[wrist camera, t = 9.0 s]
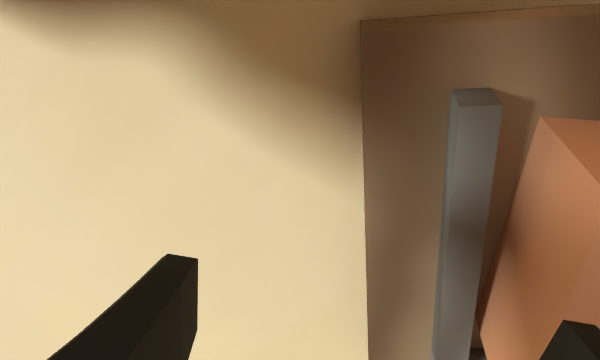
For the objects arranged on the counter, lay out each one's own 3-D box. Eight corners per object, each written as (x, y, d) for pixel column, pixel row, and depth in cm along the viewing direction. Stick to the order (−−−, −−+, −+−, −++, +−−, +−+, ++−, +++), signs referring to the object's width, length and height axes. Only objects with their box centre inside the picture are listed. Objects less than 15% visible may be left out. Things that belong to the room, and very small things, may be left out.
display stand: (368, 348, 23) (369, 402, 21) (360, 21, 15) (360, 43, 13) (673, 355, 21) (716, 416, 19) (844, -14, 13) (959, 4, 11)
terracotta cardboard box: (474, 314, 19) (507, 430, 15) (539, 116, 15) (614, 201, 11) (572, 325, 19) (634, 446, 15) (670, 126, 15) (801, 217, 10)
